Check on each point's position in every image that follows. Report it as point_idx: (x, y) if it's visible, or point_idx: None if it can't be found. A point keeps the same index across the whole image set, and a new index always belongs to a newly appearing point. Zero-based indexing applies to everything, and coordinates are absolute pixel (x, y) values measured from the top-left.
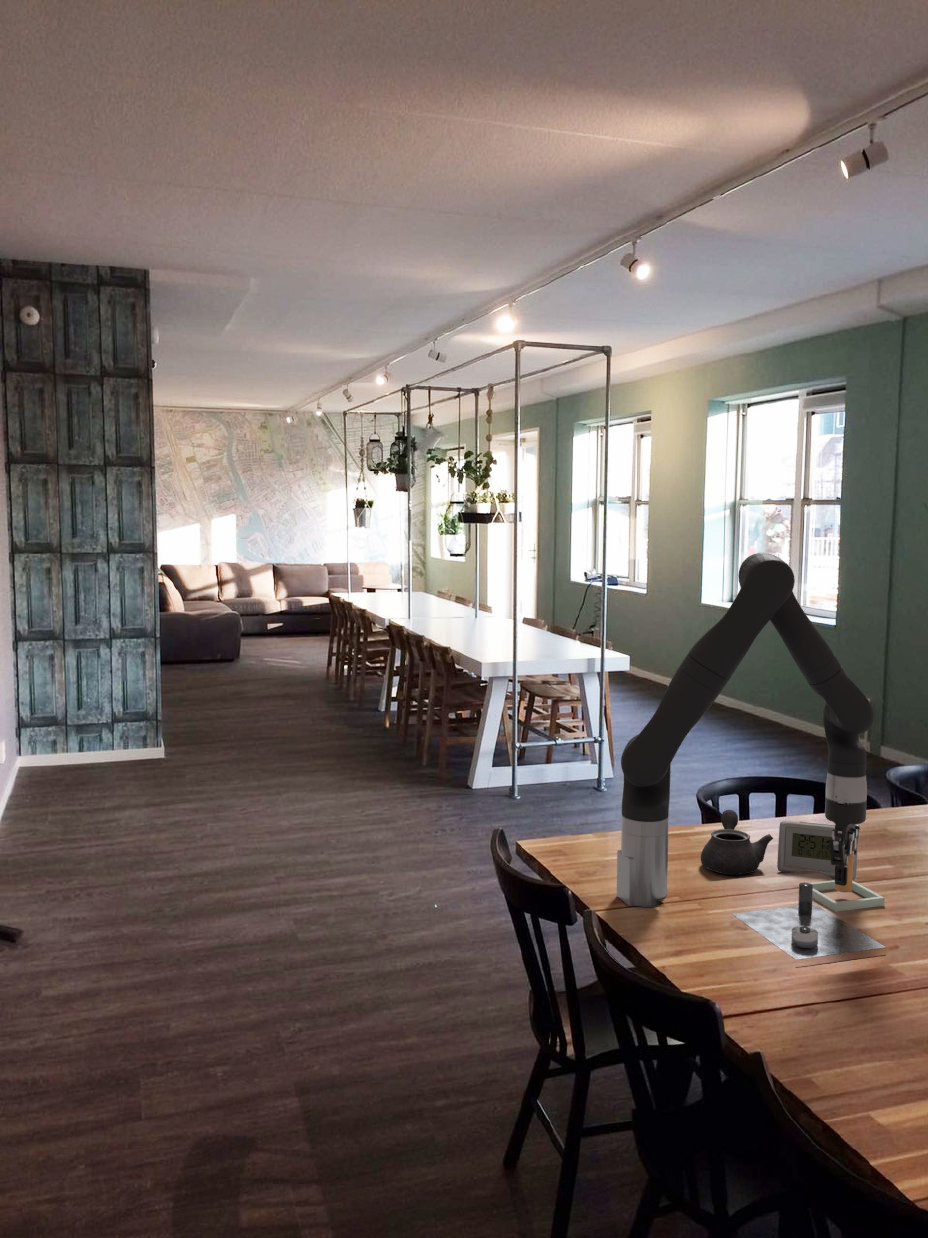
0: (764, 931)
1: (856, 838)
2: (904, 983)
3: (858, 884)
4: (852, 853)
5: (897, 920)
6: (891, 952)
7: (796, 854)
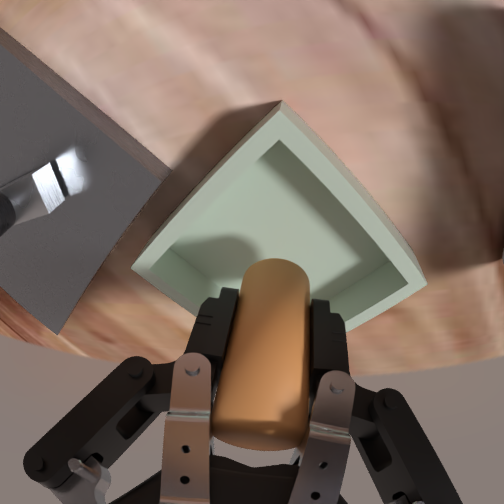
0: None
1: (379, 492)
2: (24, 332)
3: (371, 314)
4: (261, 449)
5: None
6: (82, 332)
7: None
